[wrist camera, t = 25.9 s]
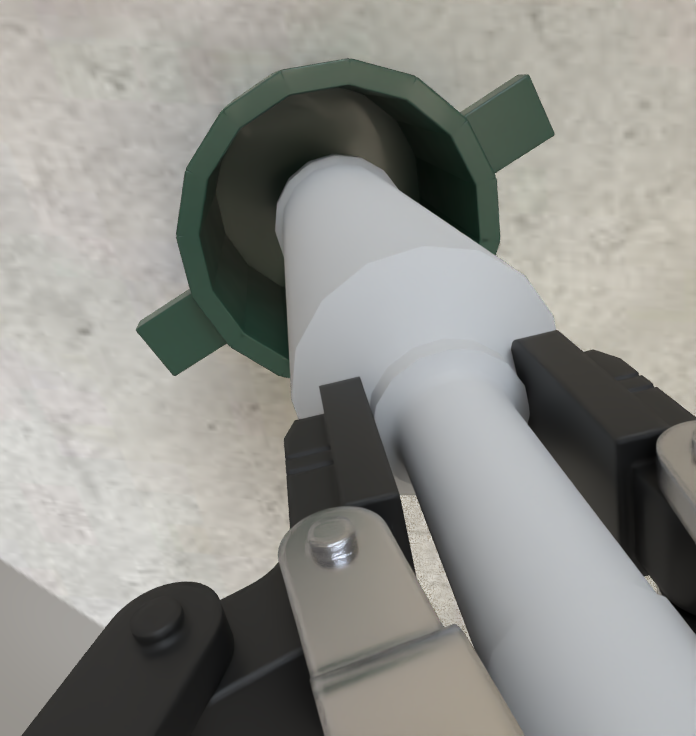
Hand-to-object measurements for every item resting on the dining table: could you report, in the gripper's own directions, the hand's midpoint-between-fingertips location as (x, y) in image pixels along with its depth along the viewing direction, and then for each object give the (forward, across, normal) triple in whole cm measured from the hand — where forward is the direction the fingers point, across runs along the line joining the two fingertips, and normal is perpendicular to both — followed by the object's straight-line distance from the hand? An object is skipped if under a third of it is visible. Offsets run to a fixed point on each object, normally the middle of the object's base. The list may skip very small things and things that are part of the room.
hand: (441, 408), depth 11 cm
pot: (+24, 0, 0) cm, 24 cm away
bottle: (+18, 0, 0) cm, 18 cm away
